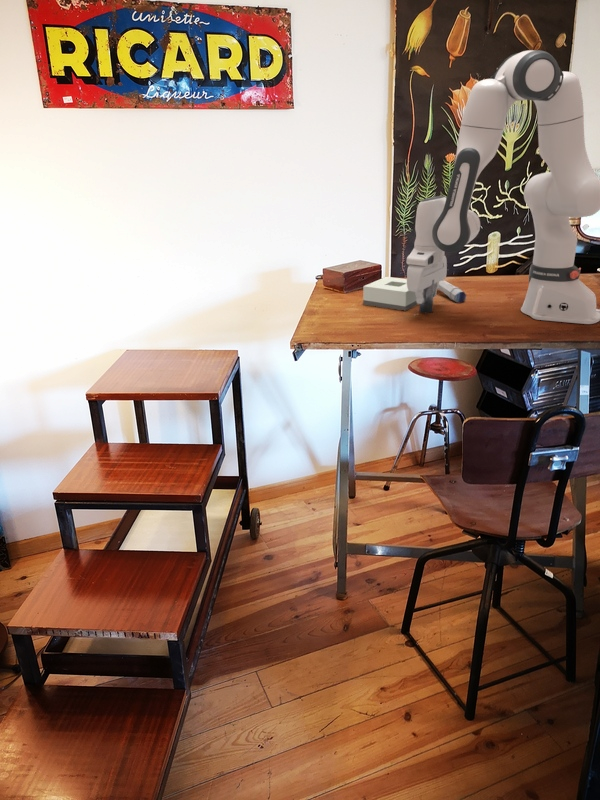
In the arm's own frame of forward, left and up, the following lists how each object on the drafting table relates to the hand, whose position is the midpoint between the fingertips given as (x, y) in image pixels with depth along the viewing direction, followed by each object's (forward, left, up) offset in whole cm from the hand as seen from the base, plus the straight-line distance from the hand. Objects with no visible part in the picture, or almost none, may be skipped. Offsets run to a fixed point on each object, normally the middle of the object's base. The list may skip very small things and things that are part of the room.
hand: (426, 299), depth 183 cm
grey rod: (+5, -22, -4) cm, 23 cm away
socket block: (+13, -4, -4) cm, 14 cm away
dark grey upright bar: (0, 0, -4) cm, 4 cm away
